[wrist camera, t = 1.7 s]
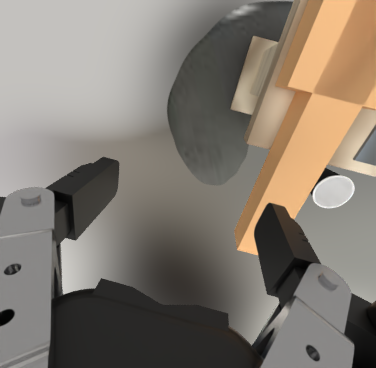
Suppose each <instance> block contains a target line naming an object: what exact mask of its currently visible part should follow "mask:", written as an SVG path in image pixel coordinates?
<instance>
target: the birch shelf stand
mask: <svg viewBox="0 0 376 368" xmlns="http://www.w3.org/2000/svg"><path fill="white" fill-rule="evenodd" d="M307 3H308V0H294V2H293V5H292V7H291V10H290V13H289V16H288V18H287V21H286V24H285V26H284V29H283V32H282V35H281V37H280V40H279V42H275V41H271V40H268V39H264V38H260V37H256V36H253V37H252V40H251V43H250V46H249V49H248V53H247V56H246V59H245V62H244V65H243V69H242V72H241V75H240V78H239V82H238V85H237V88H236V91H235V94H234V98H233V101H232V104H231V107H230V109H231V110H235V111H239V112H243V113H247V114H251V115H252V117H251V120H250V122H249V125H248V128H247V130H246V133H245V136H244V140H245V142H246V143H247V144H250V145H254V146H258V147H262V148H266V149H271V147H272V144H273V142H274V140H275V138H276V135H277V133H278V131H279V129H280V126H281V124H282V122H283V120H284V117H285V115H286V113H287V110H288V108H289V106H290V104H291V101H292V99H293V97H294V95H295V92H296V91H292V90H288V89H284V88H281V87H277V86H275V85H276V82H277V80H278V77H279V74H280V72H281V69H282V67H283V64H284V62H285V59H286V57H287V54H288V51H289V49H290V46H291V44H292V41H293V39H294V36H295V34H296V31H297V28H298V26H299V23H300V21H301V18H302V16H303V13H304V11H305V8H306V6H307ZM328 165H332V166H336V167H339V168H343V169H347V170H351V171H355V172H359V173H363V174H367V175H371V176H374V177H376V110H370V109H364V108H361V110H360V112H359V113H358V115H357V117H356V118H355V120H354V122H353V123H352V125H351V126H350V128H349V130H348V131H347V133H346V135H345V136H344V138H343V140H342V141H341V143H340V145H339V146H338V148H337V149H336V151H335V153H334V154H333V156H332V158H331V159H330V161H329V163H328Z"/></svg>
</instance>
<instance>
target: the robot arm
mask: <svg viewBox="0 0 376 368" xmlns="http://www.w3.org/2000/svg"><path fill="white" fill-rule="evenodd" d="M118 178H119V162H118V161H117V160H113V159H110V158H106V157H102V158H100V159H99V160H98V161H96V162H94V163H89V164H86V165H82V166H80V167H78V168H77V169H75V170H74V171H73V172H70V173H69V174H67V176H64V177H62V178H61V179H59V180H58V181H56V182H54V183H53V184H51V185H50V186H48V187H47V188H38V187H34V188H25V189H21V190H18V191H15V192H13V193H11V194H10V195H8V196H7V197H0V368H376V301H375V302H374V303H372V304H371V303H369V302H368V301H366V300H364V299H362V298H360V297H358V296H356V295H354V294H352V293H351V290H350V288H349V286H348V284H347V283H346V282H345V281H344V279H343V278H342V277H341V276H339V275H338V274H337V273H336V272H335V271H333V270H332V269H330V268H328V267H327V266H324V265H322V264H321V263H320V261H319V259H318V257H317V256H316V254H315V252H314V250H313V249H312V247H311V245H310V243H309V242H308V239H307V238H306V236H304V235H305V234H304V232H303V230H302V229H301V227H300V226H299V225H298V224H297V223H296V222H295V221H294V219H293V218H291V217H290V215H289V213H288V211H287V210H286V208H285V207H284V206H281V205H277V204H274V203H268V204H267V205H266V207H265V209H264V210H263V212H262V214H261V216H260V218H259V220H258V222H257V224H256V226H255V229H254V238H255V243H256V247H257V252H258V256H259V260H260V265H261V269H262V274H263V278H264V283H265V287H266V291H267V294H268V295H271V296H275V297H278V298H279V303H278V304H277V306H276V307H275V308H274V311H273V312H272V314H271V315H270V317H269V319H268V320H267V322H266V324H265V325H264V327H263V329H262V330H261V332H260V334H259V335H258V337H257V339H256V340H255V342H254V343H253V344H252V346H251V344H250V343H249V342H248V341H247V340H246V339H245V338H244V337H243V336H242V335H241V334H239V333H238V332H237V331H235V330H234V329H233V328H231V327H230V326H229V323H228V314H227V313H224V312H220V311H217V310H213V309H210V308H206V307H202V306H199V305H162V304H160V303H158V302H156V301H155V300H153V299H151V298H150V297H148V296H146V295H145V294H143V293H141V292H140V291H138V290H136V289H135V288H133V287H130V286H126V285H123V284H120V283H116V282H112V281H109V280H105V279H102V278H101V280H100V282H99V283H98V285H97V287H96V288H95V289H84V290H78V291H73V292H70V293H67V294H64V295H63V290H62V268H61V244H60V243H61V242H62V241H63V240H64V239H65V238H68V239H72V240H77V239H78V237H79V236H80V235H81V234H82V233H83V232H84V231H85V229H86V228H87V227H88V226H89V225H90V224H91V223H92V222H93V220H94V219H95V218H96V217H97V216H98V215H99V214H100V213H101V211H102V210H103V209H104V208H105V207H106V206H107V205H108V203H109V202H110V201H111V200H112V199H113V198H114V196H115V195H116V192H117V189H118Z"/></svg>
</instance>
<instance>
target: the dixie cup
mask: <svg viewBox="0 0 376 368" xmlns="http://www.w3.org/2000/svg"><path fill="white" fill-rule="evenodd" d="M310 193H311V195H312V196H313V200H314V202H315V203H316V204H317V205H318V206H320V207H323V208H334V207H338V206H341V205H342V204H344V203H346V202H347V201H348V200H349V199H350V198H351V197H352V195H353V193H354V184H353V182H352V181H351V179H349V178H348V177H345V176H341V175H339V174H337V173H335V172H332V171H331V170H329V169H327V168H325V169H324V171H323V172H322V174H321V176H320V177H319V179H318V181H317V182H316V184H315V186H314V187H313V189H312V191H311V192H310Z"/></svg>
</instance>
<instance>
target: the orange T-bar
mask: <svg viewBox="0 0 376 368" xmlns="http://www.w3.org/2000/svg"><path fill="white" fill-rule="evenodd" d="M275 86H277V87H281V88H284V89H288V90H292V91H296V92H295V95H294V97H293V99H292V101H291V104H290V106H289V108H288V110H287V113H286V115H285V117H284V120H283V122H282V124H281V126H280V129H279V131H278V133H277V135H276V138H275V140H274V142H273V144H272V147H271V149H270V151H269V153H268V156H267V158H266V160H265V163H264V165H263V167H262V169H261V172H260V174H259V176H258V178H257V181H256V183H255V185H254V188H253V190H252V192H251V194H250V196H249V199H248V201H247V203H246V206H245V208H244V210H243V212H242V214H241V217H240V219H239V221H238V223H237V226H236V228H235V230H234V231H235V238H236V245H237V250H240V251H244V252H248V253H251V254H255V255H258V252H257V247H256V243H255V238H254V229H255V226H256V224H257V222H258V220H259V218H260V216H261V214H262V212H263V210H264V209H265V207H266V205H267V204H268V203H274V204H277V205H281V206H284V207H285V208H286V210H287V211H288V213H289V215H290V217H291V218H293V219H294V218H295V217H296V215H297V213H298V212H299V210H300V209H301V207H302V205H303V204H304V202H305V200H306V198H307V197H308V195H309V194H310V192H311V191H312V189H313V187H314V186H315V184H316V182H317V181H318V179H319V177H320V176H321V174H322V172H323V171H324V169H325V168H326V166H327V164H328V163H329V161H330V159H331V158H332V156H333V154H334V153H335V151H336V149H337V148H338V146H339V145H340V143H341V141H342V140H343V138H344V136H345V135H346V133H347V131H348V130H349V128H350V126H351V125H352V123H353V122H354V120H355V118H356V117H357V115H358V113H359V112H360V110H361V108H364V109H370V110H376V0H308V3H307V6H306V8H305V11H304V13H303V16H302V18H301V21H300V23H299V26H298V28H297V31H296V34H295V36H294V39H293V41H292V44H291V46H290V49H289V51H288V54H287V57H286V59H285V62H284V64H283V67H282V69H281V72H280V74H279V77H278V80H277V82H276V85H275Z"/></svg>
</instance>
